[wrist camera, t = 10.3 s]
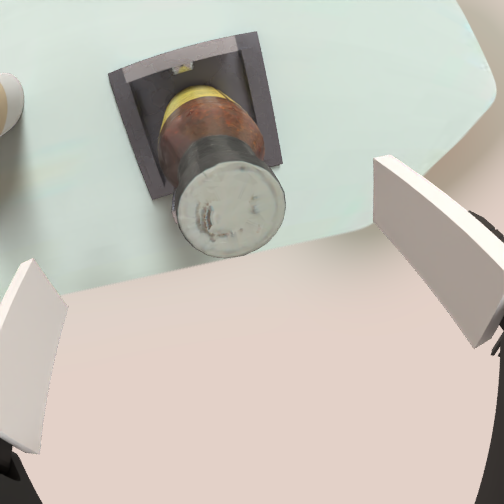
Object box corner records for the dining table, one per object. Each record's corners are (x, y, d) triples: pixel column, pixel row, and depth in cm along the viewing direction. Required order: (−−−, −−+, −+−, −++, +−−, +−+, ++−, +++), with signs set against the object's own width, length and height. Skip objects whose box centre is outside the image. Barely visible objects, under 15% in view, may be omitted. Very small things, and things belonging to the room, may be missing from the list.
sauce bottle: (155, 131, 27) (105, 250, 11) (184, 73, 24) (170, 89, 8) (215, 157, 29) (254, 299, 13) (247, 102, 27) (339, 177, 11)
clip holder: (153, 196, 32) (144, 236, 25) (110, 73, 23) (83, 80, 17) (280, 161, 32) (304, 192, 26) (255, 32, 23) (275, 25, 17)
